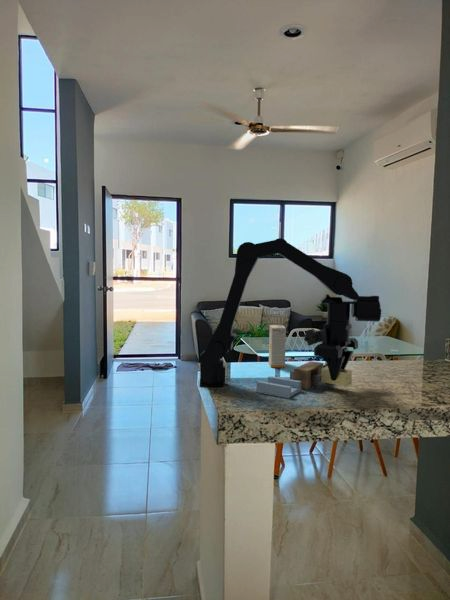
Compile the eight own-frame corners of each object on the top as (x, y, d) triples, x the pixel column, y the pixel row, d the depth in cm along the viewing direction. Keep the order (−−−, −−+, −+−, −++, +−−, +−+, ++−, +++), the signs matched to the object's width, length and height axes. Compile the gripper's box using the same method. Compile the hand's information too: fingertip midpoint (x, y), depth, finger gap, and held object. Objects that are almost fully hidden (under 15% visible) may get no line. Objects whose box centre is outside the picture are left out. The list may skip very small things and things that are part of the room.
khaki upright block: (321, 381, 113) (321, 368, 113) (326, 379, 116) (327, 366, 115) (346, 386, 108) (346, 372, 108) (351, 383, 111) (352, 370, 111)
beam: (293, 387, 114) (294, 368, 113) (309, 378, 124) (310, 361, 123) (307, 389, 111) (308, 370, 111) (323, 380, 121) (323, 362, 121)
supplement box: (285, 368, 137) (286, 328, 136) (270, 367, 137) (271, 327, 136) (282, 362, 145) (283, 324, 144) (268, 362, 145) (269, 324, 144)
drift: (289, 383, 118) (290, 371, 118) (296, 381, 121) (296, 368, 121) (319, 389, 113) (319, 376, 112) (325, 387, 115) (325, 374, 115)
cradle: (256, 392, 108) (256, 382, 108) (270, 385, 115) (270, 375, 115) (288, 398, 104) (288, 387, 103) (301, 390, 110) (301, 381, 110)
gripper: (321, 315, 123) (319, 368, 124) (295, 321, 107) (293, 381, 109) (359, 318, 117) (357, 373, 118) (338, 324, 101) (336, 388, 102)
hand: (336, 378), depth 112 cm, fingers closed on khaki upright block, 4 cm apart
